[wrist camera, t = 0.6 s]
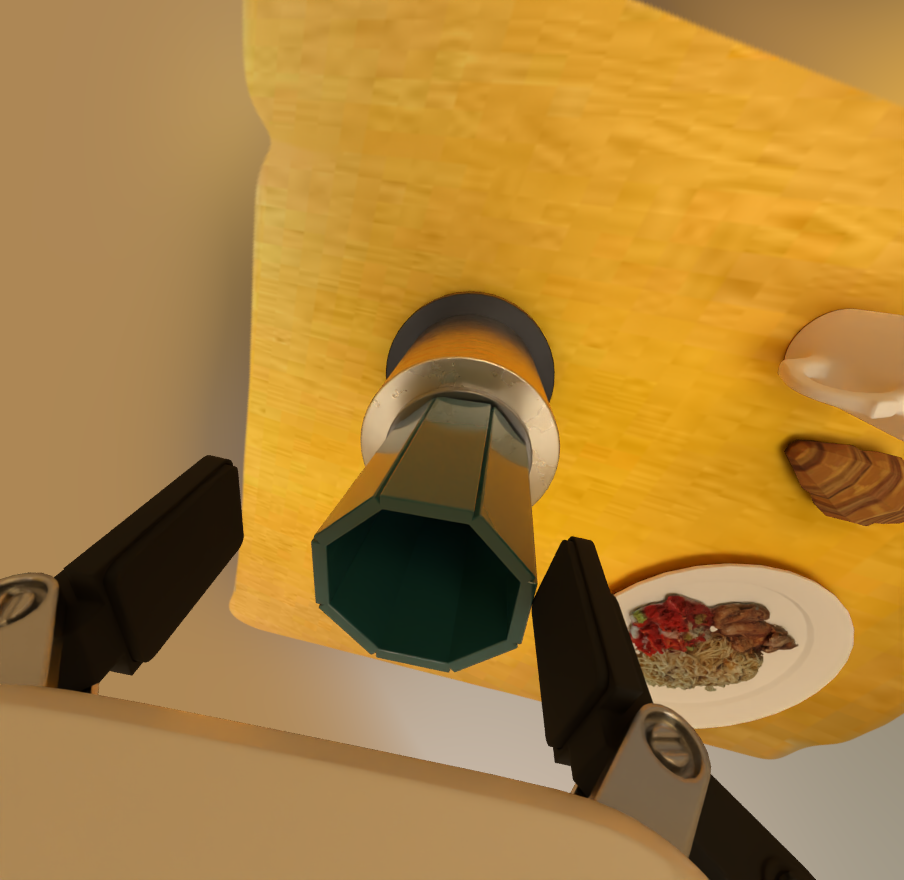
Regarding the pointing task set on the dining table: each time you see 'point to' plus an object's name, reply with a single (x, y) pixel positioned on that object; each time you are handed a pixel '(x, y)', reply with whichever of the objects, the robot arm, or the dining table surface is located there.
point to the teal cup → (434, 541)
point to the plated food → (735, 640)
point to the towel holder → (472, 374)
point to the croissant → (850, 481)
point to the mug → (852, 365)
